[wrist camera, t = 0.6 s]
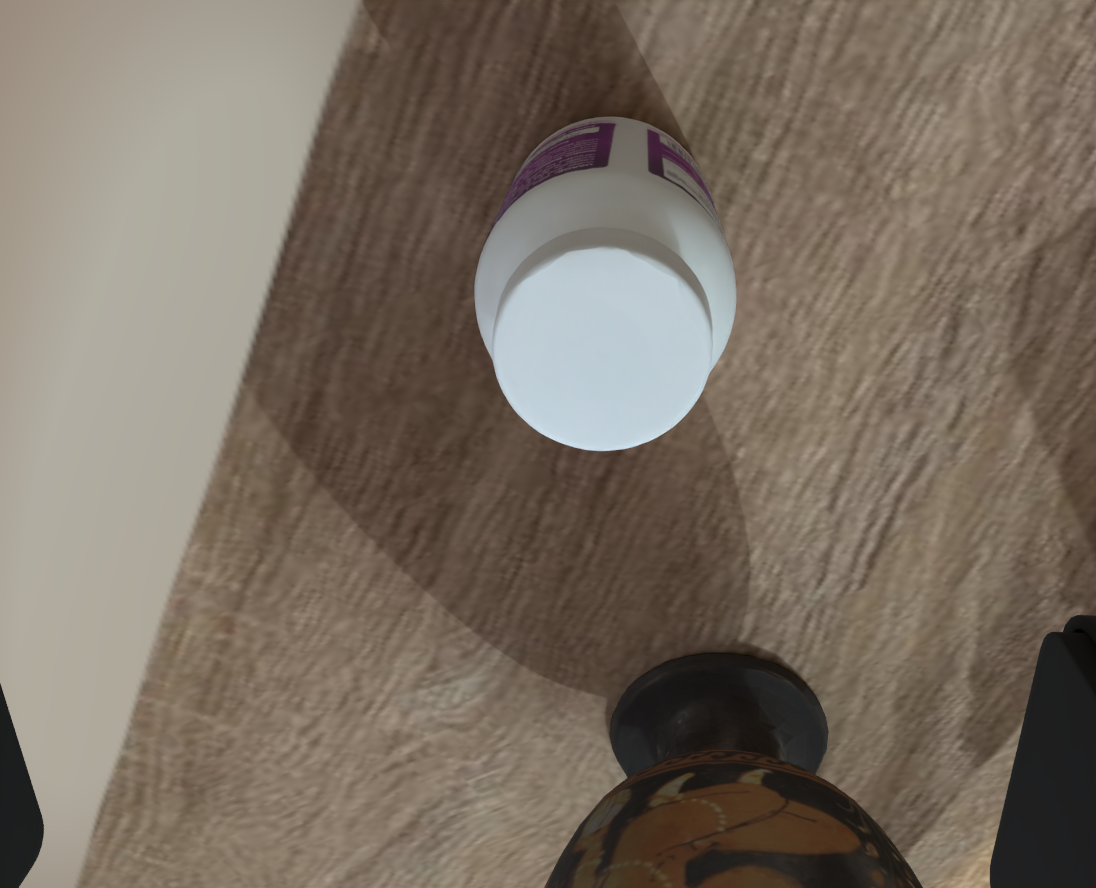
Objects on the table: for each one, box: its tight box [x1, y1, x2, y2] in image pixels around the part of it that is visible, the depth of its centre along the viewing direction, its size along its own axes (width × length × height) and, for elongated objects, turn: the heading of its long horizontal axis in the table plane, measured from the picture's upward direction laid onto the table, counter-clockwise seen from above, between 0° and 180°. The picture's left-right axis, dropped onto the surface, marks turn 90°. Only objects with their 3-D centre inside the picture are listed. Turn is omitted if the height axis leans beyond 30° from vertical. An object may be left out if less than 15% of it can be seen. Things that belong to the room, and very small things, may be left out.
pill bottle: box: [474, 117, 736, 451], centre depth 23 cm, size 5×5×10 cm
